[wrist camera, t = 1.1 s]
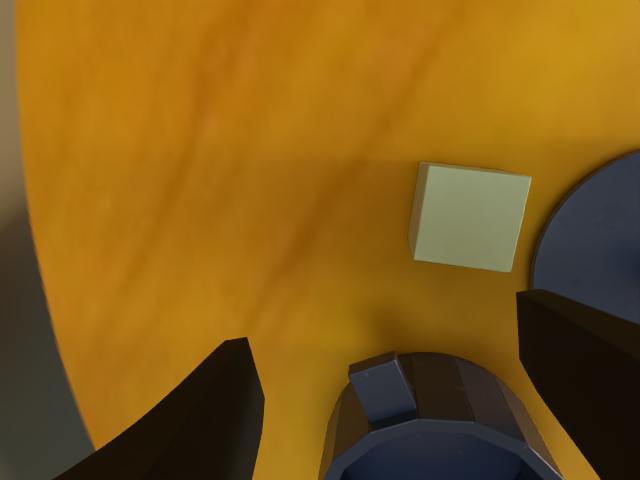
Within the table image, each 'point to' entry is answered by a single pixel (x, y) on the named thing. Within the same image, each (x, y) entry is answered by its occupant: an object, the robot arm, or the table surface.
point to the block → (467, 216)
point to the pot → (431, 424)
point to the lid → (595, 242)
